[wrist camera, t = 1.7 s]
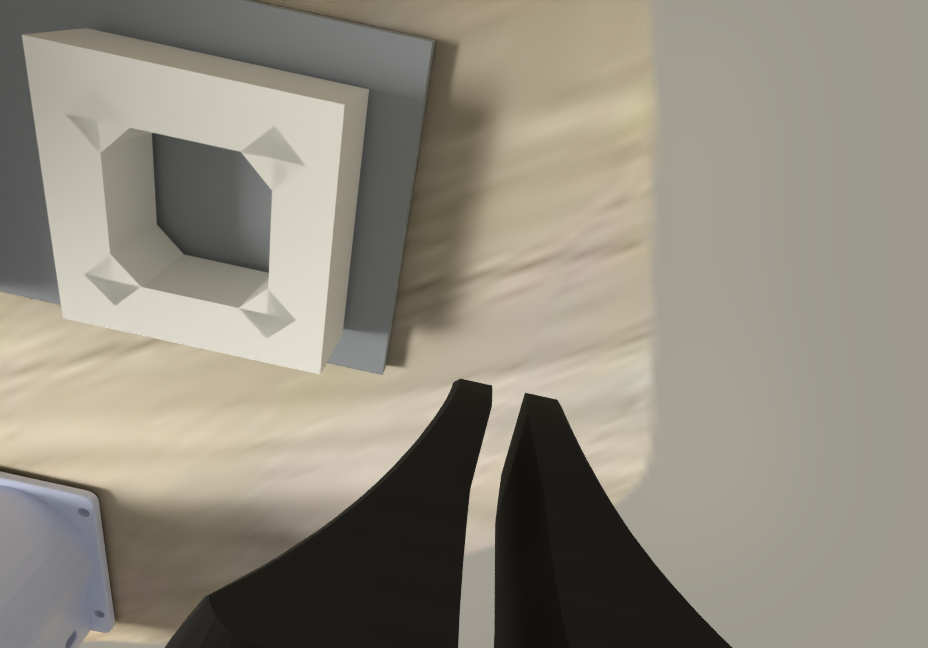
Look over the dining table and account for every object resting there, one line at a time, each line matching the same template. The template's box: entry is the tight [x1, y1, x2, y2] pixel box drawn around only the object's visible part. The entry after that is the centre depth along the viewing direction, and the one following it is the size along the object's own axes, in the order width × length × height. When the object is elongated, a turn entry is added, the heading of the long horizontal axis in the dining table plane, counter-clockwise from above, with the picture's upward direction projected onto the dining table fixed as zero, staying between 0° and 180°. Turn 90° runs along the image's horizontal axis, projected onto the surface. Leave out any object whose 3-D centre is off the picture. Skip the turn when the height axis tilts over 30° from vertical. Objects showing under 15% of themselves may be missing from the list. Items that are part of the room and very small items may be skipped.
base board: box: [0, 0, 436, 375], centre depth 18 cm, size 11×17×4 cm, turn 79°
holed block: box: [22, 28, 369, 374], centre depth 18 cm, size 8×8×2 cm
